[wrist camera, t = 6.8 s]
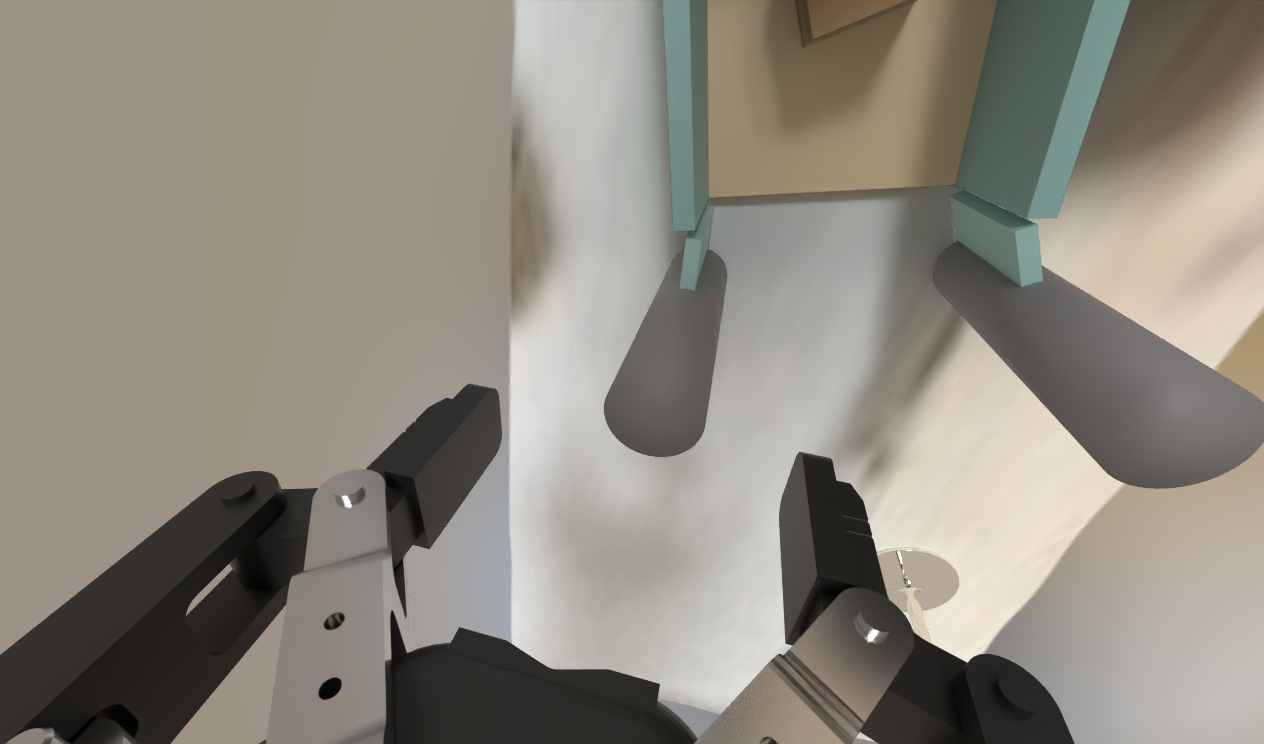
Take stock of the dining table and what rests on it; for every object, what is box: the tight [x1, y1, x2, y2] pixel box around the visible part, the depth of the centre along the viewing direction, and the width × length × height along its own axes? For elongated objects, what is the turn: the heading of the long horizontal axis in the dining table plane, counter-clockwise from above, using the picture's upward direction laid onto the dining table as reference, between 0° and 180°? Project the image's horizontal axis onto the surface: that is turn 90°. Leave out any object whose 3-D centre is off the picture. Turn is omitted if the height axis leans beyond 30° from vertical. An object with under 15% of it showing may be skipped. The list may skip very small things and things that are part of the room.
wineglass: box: [877, 548, 959, 644], centre depth 25 cm, size 8×8×18 cm
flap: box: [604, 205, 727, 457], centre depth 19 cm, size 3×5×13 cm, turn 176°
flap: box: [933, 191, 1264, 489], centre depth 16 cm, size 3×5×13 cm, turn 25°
